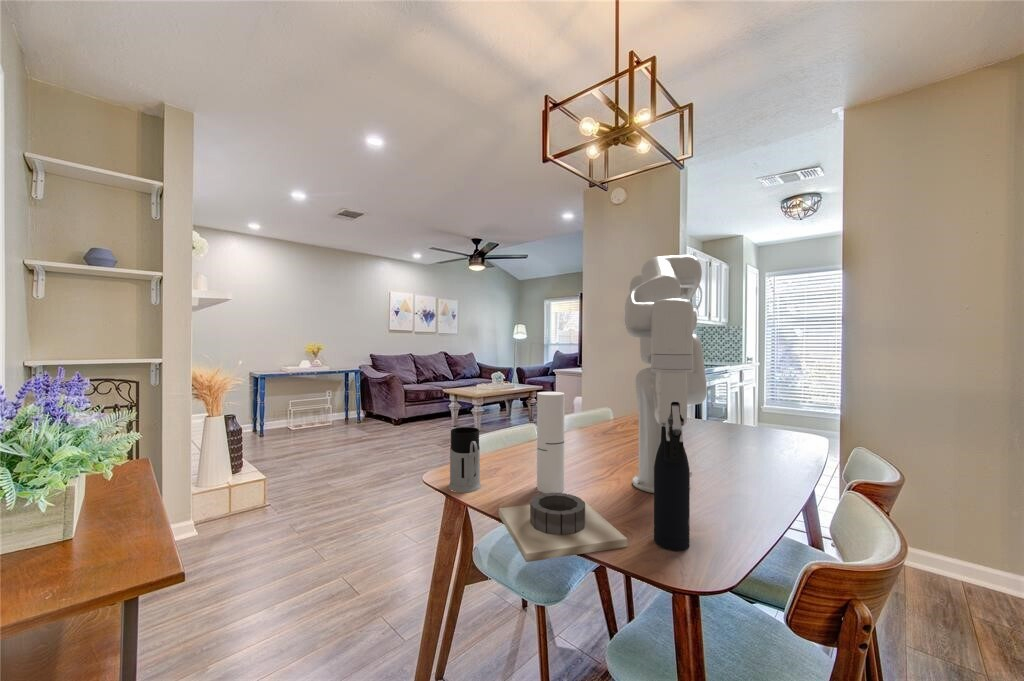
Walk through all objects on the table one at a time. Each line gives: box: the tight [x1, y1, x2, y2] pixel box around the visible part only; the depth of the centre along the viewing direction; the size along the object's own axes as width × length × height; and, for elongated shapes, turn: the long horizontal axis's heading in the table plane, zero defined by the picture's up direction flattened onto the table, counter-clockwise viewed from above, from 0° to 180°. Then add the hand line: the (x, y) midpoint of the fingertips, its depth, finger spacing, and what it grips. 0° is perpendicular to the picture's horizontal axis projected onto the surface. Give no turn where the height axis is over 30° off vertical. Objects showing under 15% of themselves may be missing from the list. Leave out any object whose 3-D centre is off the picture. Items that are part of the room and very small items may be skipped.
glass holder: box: [448, 426, 482, 494], centre depth 106 cm, size 9×14×15 cm, turn 23°
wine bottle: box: [653, 402, 691, 552], centre depth 79 cm, size 6×6×30 cm
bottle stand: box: [498, 492, 628, 563], centre depth 84 cm, size 20×20×6 cm
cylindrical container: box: [536, 391, 566, 494], centre depth 107 cm, size 7×7×25 cm
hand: (671, 457), depth 79 cm, fingers closed on wine bottle, 5 cm apart
